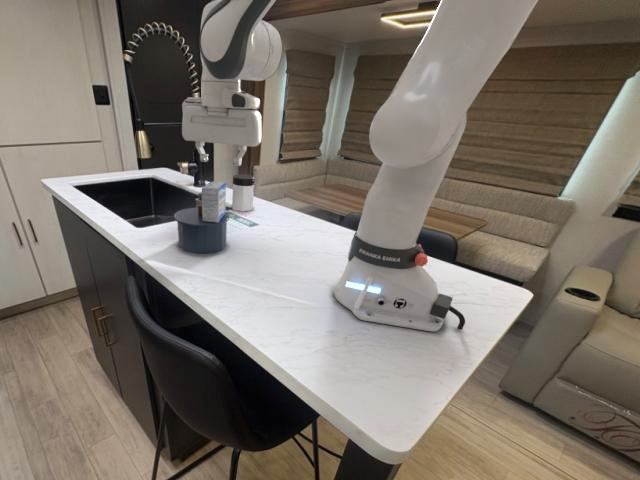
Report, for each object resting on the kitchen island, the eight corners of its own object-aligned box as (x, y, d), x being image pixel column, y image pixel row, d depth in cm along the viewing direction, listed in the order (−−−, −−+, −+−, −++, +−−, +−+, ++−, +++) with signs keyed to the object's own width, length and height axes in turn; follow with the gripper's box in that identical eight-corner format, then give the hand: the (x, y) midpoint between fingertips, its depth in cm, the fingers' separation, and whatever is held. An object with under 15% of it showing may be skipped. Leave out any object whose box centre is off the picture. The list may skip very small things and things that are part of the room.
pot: (233, 242, 92) (234, 214, 88) (212, 260, 82) (212, 229, 77) (194, 234, 96) (194, 207, 92) (169, 249, 86) (167, 219, 81)
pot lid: (237, 216, 88) (238, 203, 86) (213, 233, 77) (213, 217, 74) (192, 208, 93) (192, 195, 91) (163, 222, 81) (161, 207, 79)
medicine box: (218, 223, 79) (218, 189, 75) (201, 221, 80) (201, 187, 75) (225, 214, 86) (226, 182, 81) (210, 212, 86) (210, 180, 82)
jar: (253, 212, 118) (255, 179, 112) (231, 211, 118) (233, 178, 111) (251, 205, 126) (253, 174, 119) (231, 204, 125) (232, 173, 119)
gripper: (174, 96, 71) (178, 160, 79) (256, 99, 65) (252, 169, 72) (189, 97, 76) (191, 157, 84) (266, 100, 70) (262, 165, 77)
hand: (220, 163), depth 78 cm, fingers open, 8 cm apart
